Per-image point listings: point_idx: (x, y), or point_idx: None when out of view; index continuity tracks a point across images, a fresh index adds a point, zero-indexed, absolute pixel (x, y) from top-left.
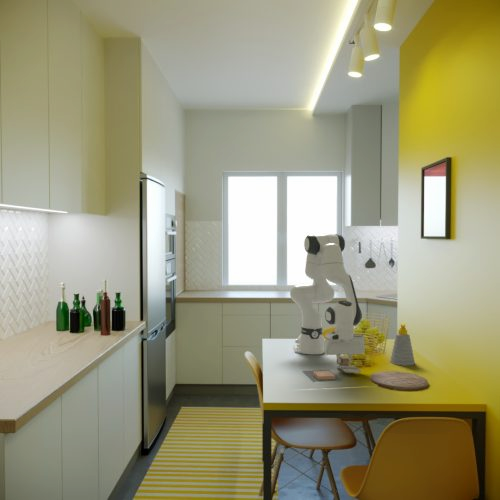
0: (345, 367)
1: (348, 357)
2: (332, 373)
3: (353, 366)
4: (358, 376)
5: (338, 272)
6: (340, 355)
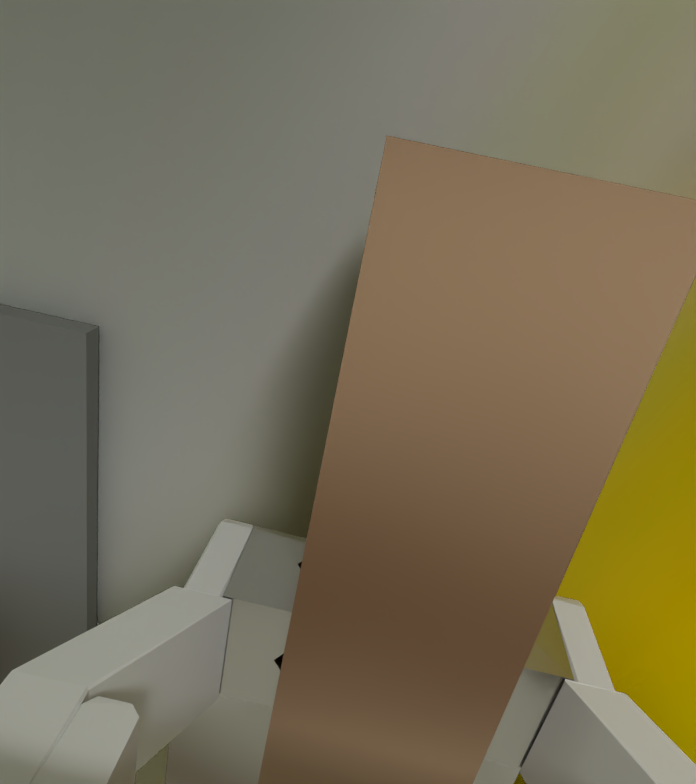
0: (250, 764)
1: (603, 754)
2: (63, 556)
3: (480, 778)
4: None
5: None
6: (584, 242)
